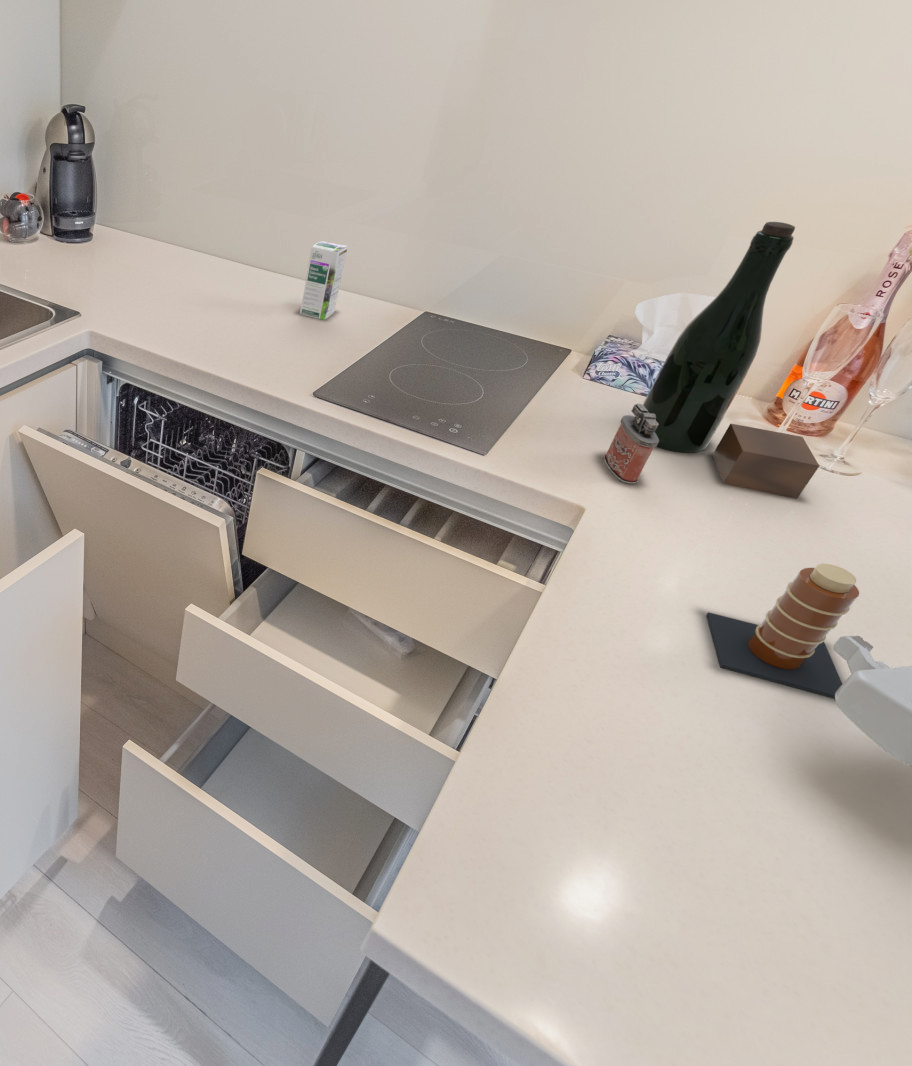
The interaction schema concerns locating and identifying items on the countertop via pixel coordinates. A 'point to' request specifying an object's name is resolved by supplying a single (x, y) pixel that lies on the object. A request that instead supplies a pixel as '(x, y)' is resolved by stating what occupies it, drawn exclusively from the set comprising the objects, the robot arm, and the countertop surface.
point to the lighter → (632, 445)
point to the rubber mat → (739, 658)
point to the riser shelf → (764, 460)
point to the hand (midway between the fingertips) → (888, 636)
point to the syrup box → (323, 279)
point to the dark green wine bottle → (716, 349)
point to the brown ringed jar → (804, 616)
